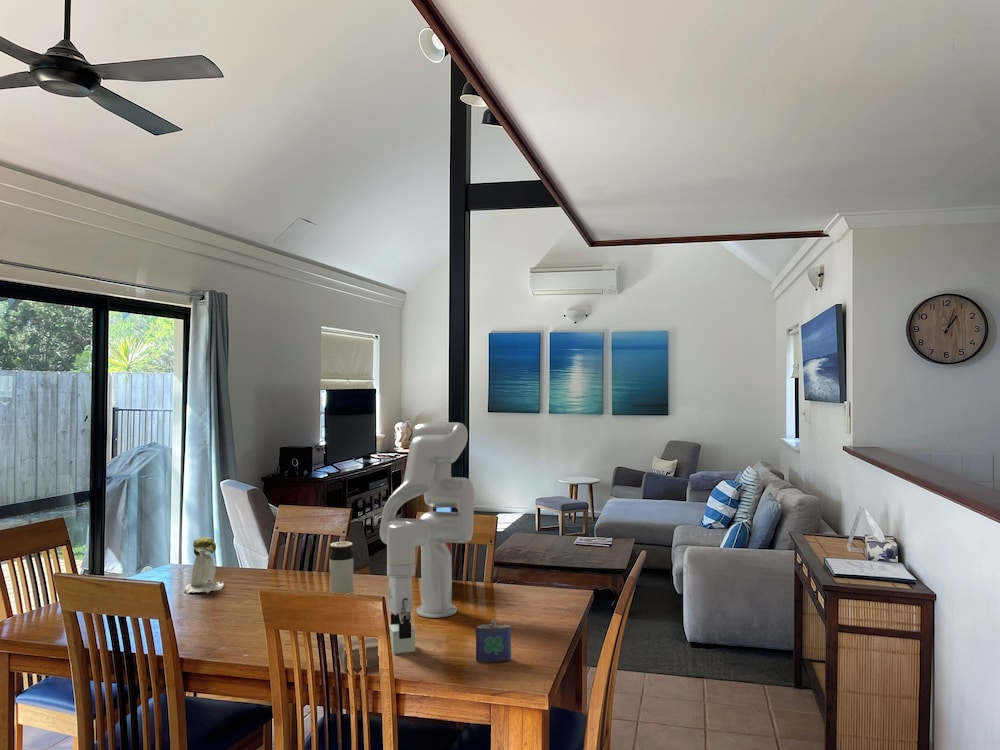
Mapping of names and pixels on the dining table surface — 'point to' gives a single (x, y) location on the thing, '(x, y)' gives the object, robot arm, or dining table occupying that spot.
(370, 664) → the walnut block
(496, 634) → the flask
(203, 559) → the white figurine
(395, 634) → the sage block
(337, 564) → the travel mug
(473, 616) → the dining table surface
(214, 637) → the dining table surface
